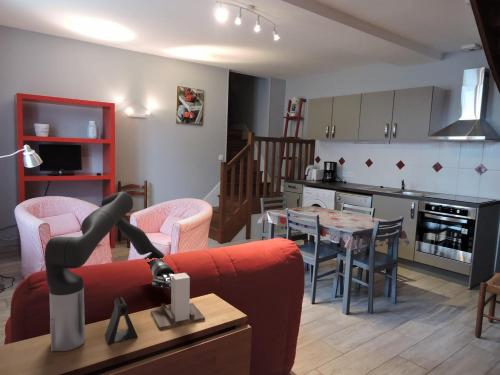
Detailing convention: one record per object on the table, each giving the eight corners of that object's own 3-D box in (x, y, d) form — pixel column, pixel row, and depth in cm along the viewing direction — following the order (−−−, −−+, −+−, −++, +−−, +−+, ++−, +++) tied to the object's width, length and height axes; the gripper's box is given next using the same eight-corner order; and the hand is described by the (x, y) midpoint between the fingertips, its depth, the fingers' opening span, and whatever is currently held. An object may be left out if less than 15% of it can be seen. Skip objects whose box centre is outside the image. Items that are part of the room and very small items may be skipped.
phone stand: (133, 329, 118) (133, 294, 117) (137, 337, 113) (137, 301, 112) (104, 335, 114) (104, 300, 112) (107, 345, 108) (107, 307, 107)
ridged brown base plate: (159, 330, 118) (159, 321, 118) (150, 313, 129) (150, 305, 129) (204, 320, 126) (205, 312, 125) (192, 305, 137) (192, 297, 137)
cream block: (175, 321, 121) (175, 279, 119) (171, 315, 125) (171, 274, 124) (189, 318, 123) (189, 277, 122) (184, 312, 128) (185, 272, 126)
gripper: (146, 266, 142) (156, 281, 126) (178, 262, 148) (192, 276, 133) (146, 284, 142) (156, 301, 127) (178, 279, 149) (191, 295, 134)
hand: (174, 288), depth 130 cm, fingers closed
